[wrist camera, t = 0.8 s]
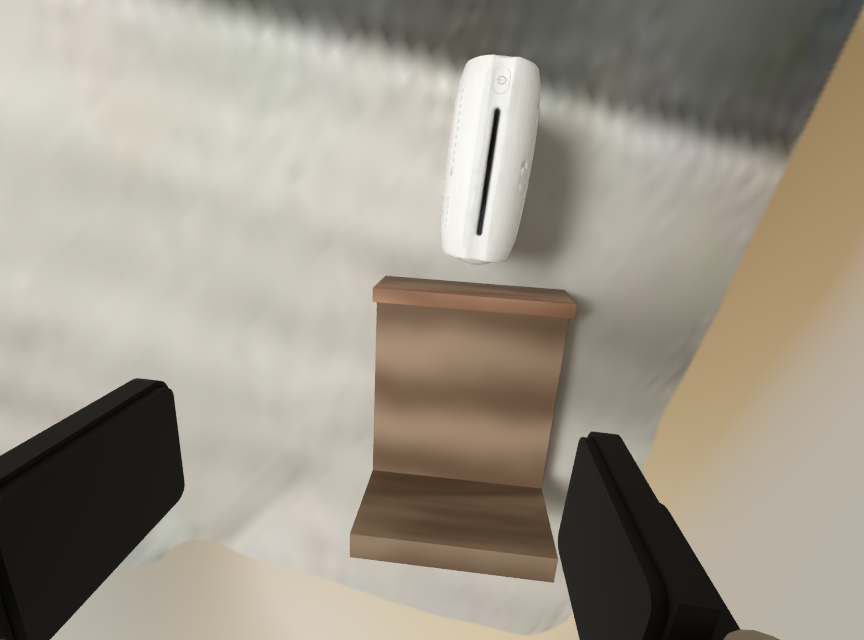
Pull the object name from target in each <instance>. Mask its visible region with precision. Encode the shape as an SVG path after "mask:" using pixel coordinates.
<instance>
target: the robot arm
mask: <svg viewBox="0 0 864 640" xmlns="http://www.w3.org/2000/svg"><path fill="white" fill-rule="evenodd" d="M183 491H184V475H183V467H182V459H181V451H180V443H179V435H178V427H177V419H176V410H175V402H174V395H173V392H172V390H171V389H169V388H168V386H167V385H166V383H164V382H163V381H156V380H148V379H137V378H136V379H133V380H131V381H129V382H128V383H126V384H124V385H122V386H121V387H119V388H117V389H115V390H114V391H112V392H110V393H109V394H107V395H105V396H103V397H102V398H100V399H98V400H96V401H95V402H93V403H91V404H89V405H88V406H86V407H84V408H83V409H81V410H79V411H77V412H76V413H74V414H72V415H70V416H69V417H67V418H65V419H63V420H62V421H60V422H58V423H57V424H55V425H53V426H51V427H50V428H48V429H46V430H44V431H43V432H41V433H39V434H37V435H36V436H34V437H32V438H31V439H29V440H27V441H25V442H24V443H22V444H20V445H18V446H17V447H15V448H13V449H11V450H10V451H8V452H6V453H5V454H3V455H1V456H0V640H50V639H51V638H52V637H53V636H54V635H55V634H56V633H57V632H58V630H59V629H60V628H61V627H62V626H63V625H64V624H65V623H66V622H67V621H68V620H69V619H70V618H71V616H72V615H73V614H74V613H75V612H76V611H77V610H78V609H79V608H80V606H82V605H83V603H84V602H85V601H86V600H87V599H88V598H89V597H90V596H91V595H92V594H93V593H94V591H95V590H96V589H97V588H98V587H99V586H100V585H101V584H102V583H103V582H104V581H105V580H106V579H107V577H108V576H109V575H110V574H111V573H112V572H113V571H114V570H115V569H116V568H117V567H118V566H119V565H120V563H121V562H122V561H123V560H124V559H125V558H126V557H127V556H128V555H129V554H130V553H131V552H132V550H133V549H134V548H135V547H136V546H137V545H138V544H139V543H140V542H141V541H142V540H143V539H144V538H145V536H146V535H147V534H148V533H149V532H150V531H151V530H152V529H153V528H154V527H155V526H156V525H157V523H158V522H159V521H160V520H161V519H162V518H163V517H164V516H165V515H166V514H167V513H168V512H169V510H170V509H171V508H172V507H173V506H174V505H175V504H176V503H177V502H178V501H179V499H180V498H181V496H182V494H183ZM558 549H559V555H560V559H561V563H562V567H563V571H564V576H565V580H566V584H567V588H568V592H569V597H570V601H571V605H572V609H573V613H574V618H575V622H576V626H577V630H578V634H579V638H580V640H779V639H777V638H775V637H773V636H770V635H767V634H764V633H761V632H758V631H754V630H740V628H739V626H738V625H737V623H736V621H735V620H734V618H733V616H732V615H731V613H730V611H729V610H728V609H727V607H726V605H725V603H724V602H723V600H722V598H721V597H720V595H719V593H718V592H717V590H716V588H715V587H714V585H713V583H712V582H711V580H710V578H709V577H708V575H707V573H706V572H705V570H704V568H703V567H702V565H701V563H700V562H699V560H698V558H697V557H696V555H695V554H694V552H693V550H692V549H691V547H690V545H689V544H688V542H687V540H686V539H685V537H684V536H683V534H682V532H681V530H680V529H679V527H678V525H677V524H676V522H675V521H674V519H673V517H672V515H671V514H670V512H669V511H668V509H667V508H666V507H665V506H664V505H663V504H661V503H659V501H658V499H657V498H656V496H655V494H654V493H653V491H652V489H651V488H650V486H649V484H648V483H647V481H646V479H645V478H644V476H643V474H642V472H641V471H640V469H639V467H638V466H637V464H636V462H635V461H634V459H633V457H632V455H631V454H630V452H629V450H628V449H627V447H626V445H625V444H624V442H623V440H622V438H621V437H620V436H619V435H617V434H608V433H600V432H590V433H589V435H588V438H585V437H581V438H580V440H579V443H578V447H577V452H576V456H575V461H574V465H573V470H572V475H571V479H570V484H569V488H568V493H567V497H566V502H565V506H564V511H563V515H562V520H561V525H560V529H559V534H558Z"/></svg>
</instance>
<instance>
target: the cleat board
mask: <svg viewBox="0 0 864 640" xmlns="http://www.w3.org/2000/svg"><path fill="white" fill-rule="evenodd" d="M373 302H377V326H376V367H375V408H374V449H373V471H372V474H371V477H370V480H369V483H368V485H367V488H366V491H365V494H364V496H363V499H362V502H361V505H360V508H359V510H358V513H357V516H356V519H355V522H354V524H353V527H352V530H351V533H350V557H354V558H362V559H370V560H378V561H386V562H394V563H402V564H410V565H418V566H426V567H434V568H442V569H449V570H457V571H465V572H473V573H481V574H489V575H497V576H505V577H513V578H521V579H529V580H537V581H545V582H553V583H554V578H555V572H556V567H557V562H558V557H557V553H556V549H555V544H554V540H553V536H552V532H551V527H550V523H549V519H548V515H547V510H546V506H545V502H544V498H543V493H542V489H541V488H542V482H543V475H544V469H545V463H546V457H547V451H548V445H549V439H550V432H551V426H552V420H553V414H554V408H555V402H556V396H557V389H558V383H559V377H560V371H561V365H562V359H563V353H564V346H565V340H566V334H567V328H568V322H569V318H573V319H575V315H576V309H577V304H576V303H575V302H574V301H573V299H572V298H571V297H570V296H569V295H568V294H567V293H566V292H565V291H564V290H557V289H545V288H532V287H519V286H506V285H494V284H481V283H468V282H456V281H443V280H430V279H417V278H405V277H392V276H385V277H384V278H383V279H382V280H381V281H380V282H379V283H378V284H377V285H376V286H374V287H373Z"/></svg>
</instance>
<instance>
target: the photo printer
mask: <svg viewBox="0 0 864 640" xmlns="http://www.w3.org/2000/svg"><path fill="white" fill-rule="evenodd" d="M539 104H540V75H539V69H538V67H537V66H536V65H535V64H534V63H532V62H530V61H528V60H526V59H523V58H521V57H509V56H496V55H484V56H479V57H476V58H473V59H471V60H470V61H469V62H467V64H466V66H465V69H464V71H463V74H462V77H461V80H460V83H459V87H458V91H457V97H456V102H455V108H454V114H453V120H452V127H451V134H450V141H449V149H448V157H447V165H446V174H445V183H444V193H443V204H442V216H441V242H442V249H443V252H444V253H446V254H448V255H451V256H454V257H457V258H458V259H460V260H462V261H464V262H466V263H469V264H475V265H481V264H487V263H490V262H502V261H506V260H507V258H508V256H509V254H510V252H511V250H512V247H513V245H514V243H515V240H516V237H517V233H518V229H519V225H520V221H521V217H522V213H523V208H524V203H525V199H526V194H527V189H528V183H529V178H530V173H531V168H532V162H533V155H534V149H535V143H536V136H537V129H538V120H539V111H540V108H539Z"/></svg>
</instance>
